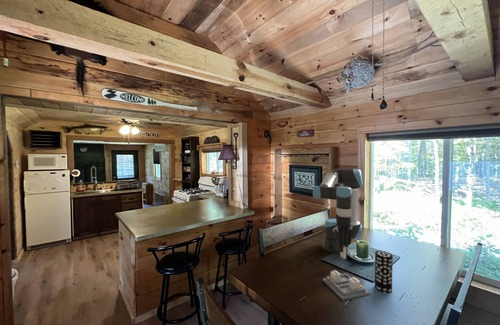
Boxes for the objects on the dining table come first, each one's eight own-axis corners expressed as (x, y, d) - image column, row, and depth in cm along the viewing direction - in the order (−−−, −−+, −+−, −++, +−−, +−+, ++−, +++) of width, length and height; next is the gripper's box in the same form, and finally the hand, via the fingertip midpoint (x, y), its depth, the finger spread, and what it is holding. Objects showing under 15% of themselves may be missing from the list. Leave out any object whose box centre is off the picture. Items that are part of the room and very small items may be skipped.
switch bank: (347, 276, 135) (347, 271, 135) (369, 294, 118) (369, 289, 118) (322, 280, 131) (322, 275, 131) (342, 300, 114) (342, 294, 113)
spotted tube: (373, 283, 128) (374, 249, 127) (390, 286, 125) (390, 251, 124) (376, 291, 120) (376, 256, 119) (393, 295, 117) (394, 258, 116)
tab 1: (336, 278, 130) (336, 269, 130) (340, 282, 126) (340, 272, 126) (330, 279, 129) (330, 270, 129) (334, 283, 125) (334, 273, 125)
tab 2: (354, 286, 123) (354, 276, 123) (360, 290, 119) (360, 280, 119) (348, 287, 122) (348, 277, 122) (353, 291, 118) (353, 281, 118)
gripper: (349, 212, 124) (348, 252, 125) (328, 214, 120) (328, 255, 122) (358, 216, 116) (358, 259, 118) (337, 218, 113) (337, 262, 114)
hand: (343, 257), depth 120 cm, fingers closed
